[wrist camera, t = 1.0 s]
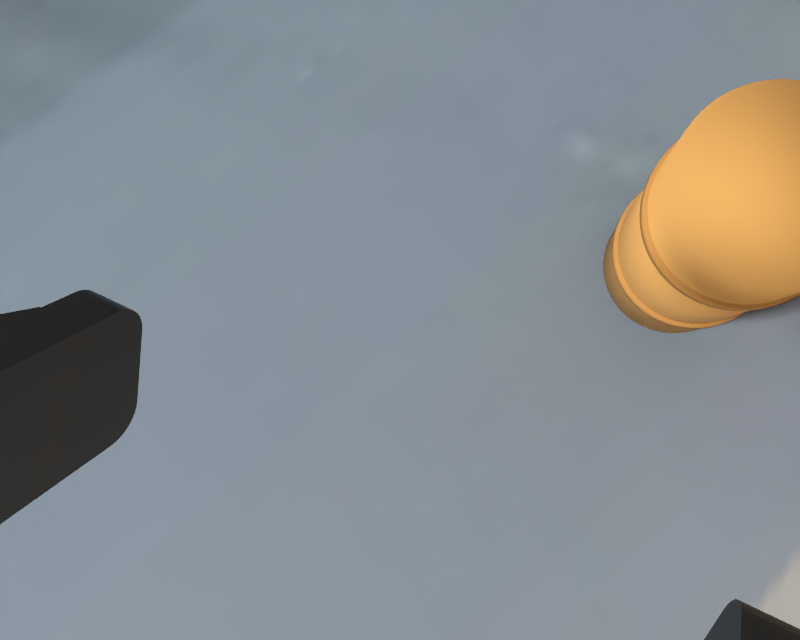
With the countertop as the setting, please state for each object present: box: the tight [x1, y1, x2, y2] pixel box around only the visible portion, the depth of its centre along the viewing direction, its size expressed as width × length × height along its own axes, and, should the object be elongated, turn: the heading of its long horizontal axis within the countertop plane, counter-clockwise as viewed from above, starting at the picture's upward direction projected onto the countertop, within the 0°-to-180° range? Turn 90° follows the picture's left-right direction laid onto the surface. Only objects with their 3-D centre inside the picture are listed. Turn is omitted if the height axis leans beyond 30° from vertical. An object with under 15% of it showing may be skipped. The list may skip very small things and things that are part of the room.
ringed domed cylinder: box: [603, 79, 800, 333], centre depth 23 cm, size 5×5×11 cm
